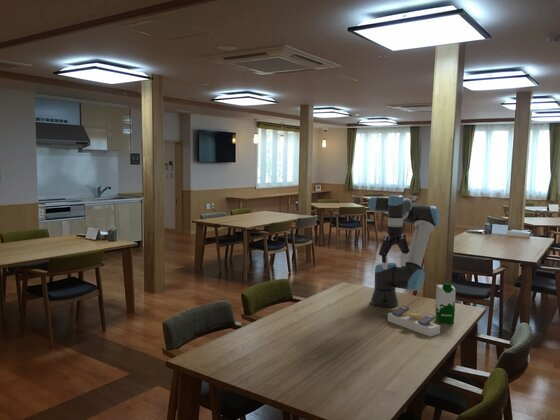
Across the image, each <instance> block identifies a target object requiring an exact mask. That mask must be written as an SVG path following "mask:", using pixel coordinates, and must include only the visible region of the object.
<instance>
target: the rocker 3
mask: <svg viewBox="0 0 560 420" xmlns="http://www.w3.org/2000/svg"><path fill="white" fill-rule="evenodd" d="M435 319H436V315H434V314H430V313H428V314H426V315H424V316H422V318H420V320H418V323H419V324H422V325H427V324H428V323H430V322H432V321H434V320H435ZM436 320H437V319H436Z"/></svg>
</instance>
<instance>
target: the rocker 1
mask: <svg viewBox="0 0 560 420" xmlns="http://www.w3.org/2000/svg"><path fill="white" fill-rule="evenodd" d="M409 310H410V308H409V307H408V306H405V305H401V306H399V307H398V308H396V309H395V310H393V311H391V312H392V314H393V315H396V316H400V315H401V314H403V313H405V312H407V311H409Z"/></svg>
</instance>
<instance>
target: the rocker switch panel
mask: <svg viewBox="0 0 560 420" xmlns="http://www.w3.org/2000/svg"><path fill="white" fill-rule="evenodd" d="M392 312H393V311H391V312H388V313H386V312H383V311H380V312H379V313H380V315H383V316H386V317H387V322H390V323H393V324H395V325H397V326H400V327H402V328H406V329H408V330H410V331H411V330H412V331H414V332H417V333H419V334H422V335H424V336H427V337H431V338H432V337H434V336H437V335H440V334H441V325H440V324H439V323H438V324H437V323H434V322H432V321H431V322H430V323H428V324H427V325H422V324H419V323H418V320H420V319H421V318H417V317H410V316H407V315H404V314H405V313H403V314H401V315H400V316H396V315H393V314H392Z"/></svg>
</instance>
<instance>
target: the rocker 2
mask: <svg viewBox="0 0 560 420" xmlns="http://www.w3.org/2000/svg"><path fill="white" fill-rule="evenodd" d="M404 315H407V316H410V317H417V318H420V319H421V318H423V316H422V315H421V314H418V313H415V312H413V313H412V312H407V311H406V312H405V314H404Z"/></svg>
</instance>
